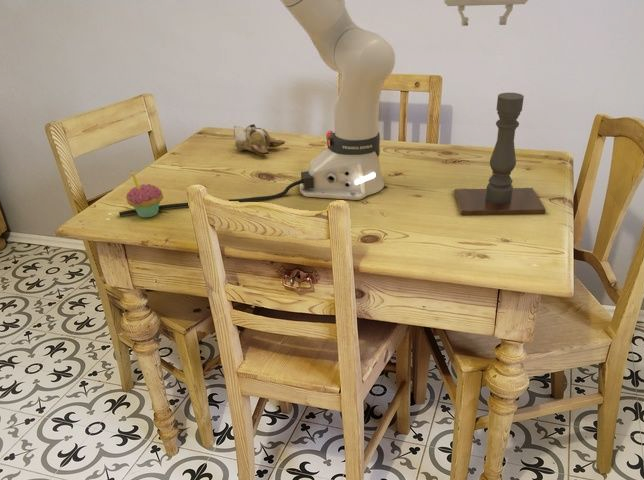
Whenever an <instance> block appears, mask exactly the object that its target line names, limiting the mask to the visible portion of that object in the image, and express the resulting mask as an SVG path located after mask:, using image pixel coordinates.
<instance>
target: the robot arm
mask: <svg viewBox="0 0 644 480" xmlns="http://www.w3.org/2000/svg"><path fill="white" fill-rule="evenodd" d="M279 1H280V2H281V3H282V4H283V6H284V7H285V8H286V9H287V11H288V12H289V13H290V14H291V16H292V17H293V18H294V19H295V20H296V21H297V23H298V24H299V25H300V26H301V28H302V29H303V30H304V31H305V33H306V34H307V36H308V37H309V39H310V41H311V42H312V44H313V46H314V47H315V49H316V51H317V52H318V55H319V57H320V59H321V60H322V62H323V63H324V64H325V65H326V66H327V67H328V68H329V69H330V70H332V71H334V72H336V73H338V74H340V75H341V84H340V85H341V86H340V91H339V95H338V97H337V98H336V99H335V100H334V102H333V120H334V122H333V123H334V132H333V130H327V132H326V133H325V138H326V145H327V146H326V149H325V150H323V151H321V152H320V153H319V154H318V155H317V156H315V157H314V158H312V160H311V162H310V163H309V166H308V168H307V170H306V171H301V172H300V179H299V180H297V181H294V182H292V183H290V184H288V185H287V186H286V187H285V188H284V190H283V191H281V192H279V193H276V194H272V195H263V196H253V197H244V198H243V197H242V198H233V199H232V198H231V199H228V200H229V201H239V202H240V203H248V202H257V201H268V200H273V199H279V198H281V197H283V196H286V195H287V194H288V192H289V191H290V190H291V189H292V188H294V187H297V186H298V185H299V193H301V195H302V196H304V197H307V198H322V199H338V200H351V201H359V200H363V199H364V198H366V197H367V196H370V195H373V194H376V193H378V192H380V191H382V190H383V189H384V187H385V181H384V178H383V175H382V170H381V164H380V163H381V162H380V154H381V136H380V135H381V134H380V131H379V105H380V99H381V94H382V90H383V86H384V84H385V81H386V80H387V79H388V78H389V77H390V75H392V73H393V70H394V68H395V64H396V53H395V51H394V48H393V46H392V45H391V43H390V42H388V40H386V38H384V37H383V36H382V35H380V34H379V33H376V32H373V31H370V30H366V29H364V28H362V27H360V26H359V25H357V23H355V22H354V21H353V19H352V18H351V16H350V14H349V12H348V10H347V8H346V2H345V0H279ZM528 1H529V0H443V3H444V4H445V5H446V6H447V7H457V11H458V14H459V17H460V18H461V21H460V25H461V26H462V27H467V26H469V17H468V16H465V14H464V12H465V9H466V8H465V7H467V6H471V7H472V6H505V7H504V8H505V11H504V13H503V15H501V16H499V18H498V19H499V21H498V25H500V26H506V25H507V21H508V18H509V16H510V14H511V13H512V11H513V8H514V5H526V3H527V2H528ZM184 207H189V206H188V202H179V203H178V202H177V203H170V204H161V205H160V204H159V210H166V209H174V208H175V209H176V208H184ZM118 214H119V217H122V216H128V215H133V214H138V213H137V211H136V210H135V208H133V209H129V210H122V211H119V212H118Z"/></svg>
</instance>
